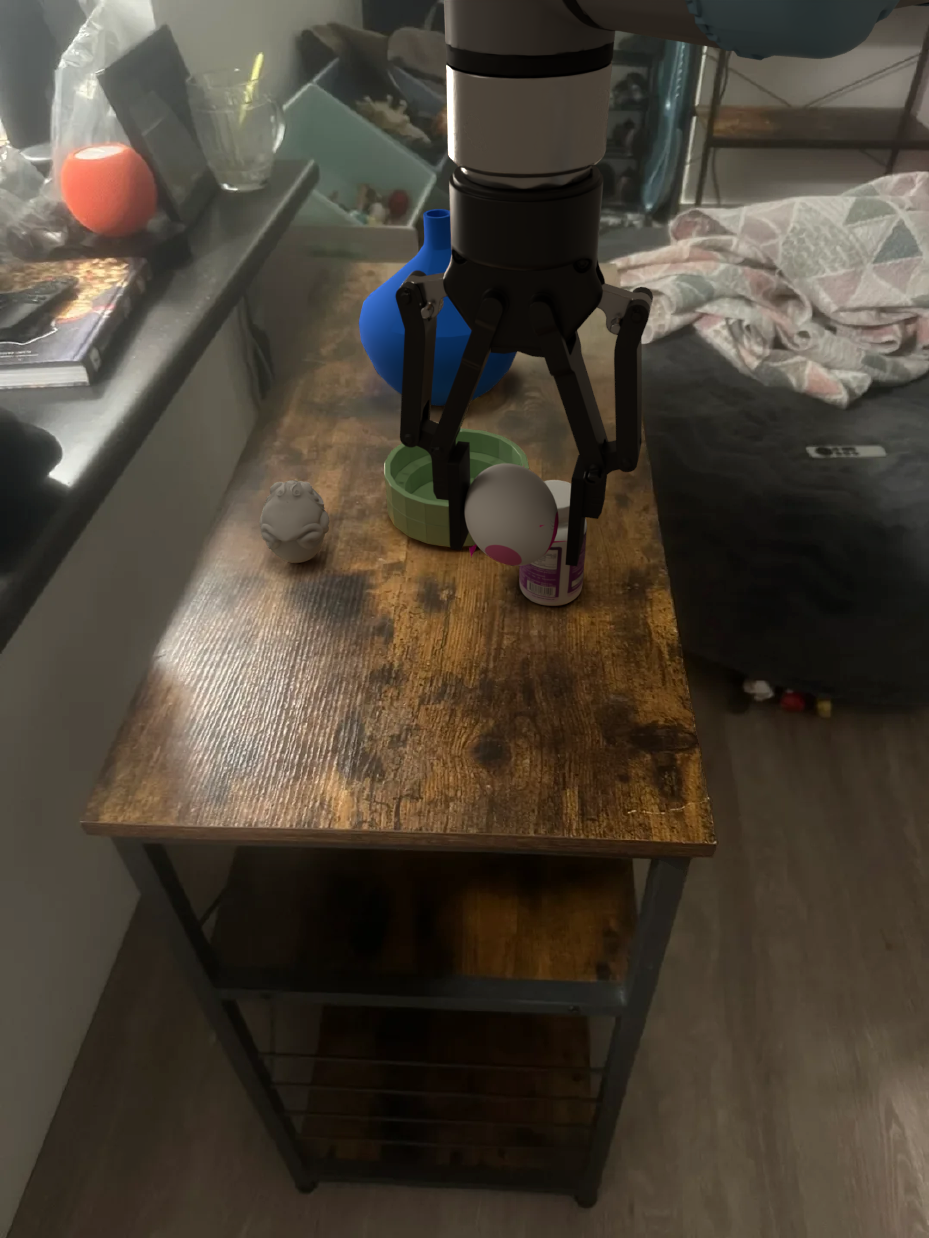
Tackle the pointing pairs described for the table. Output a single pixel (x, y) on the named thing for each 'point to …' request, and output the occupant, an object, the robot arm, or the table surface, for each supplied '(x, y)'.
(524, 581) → the pill bottle
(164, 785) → the table surface
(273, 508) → the frog figurine
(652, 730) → the table surface
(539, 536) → the stress ball
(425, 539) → the green bowl
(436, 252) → the vase
